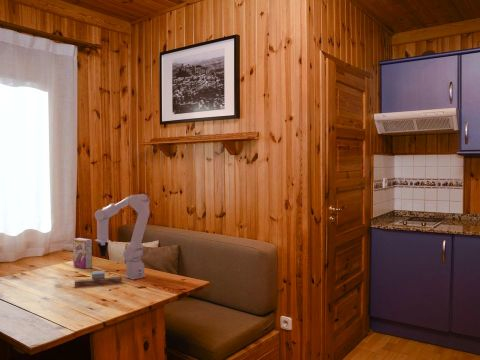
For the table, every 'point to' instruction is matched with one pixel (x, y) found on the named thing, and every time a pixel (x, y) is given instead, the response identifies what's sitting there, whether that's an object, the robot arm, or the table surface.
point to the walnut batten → (98, 281)
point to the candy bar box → (82, 253)
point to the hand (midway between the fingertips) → (103, 256)
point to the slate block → (98, 274)
